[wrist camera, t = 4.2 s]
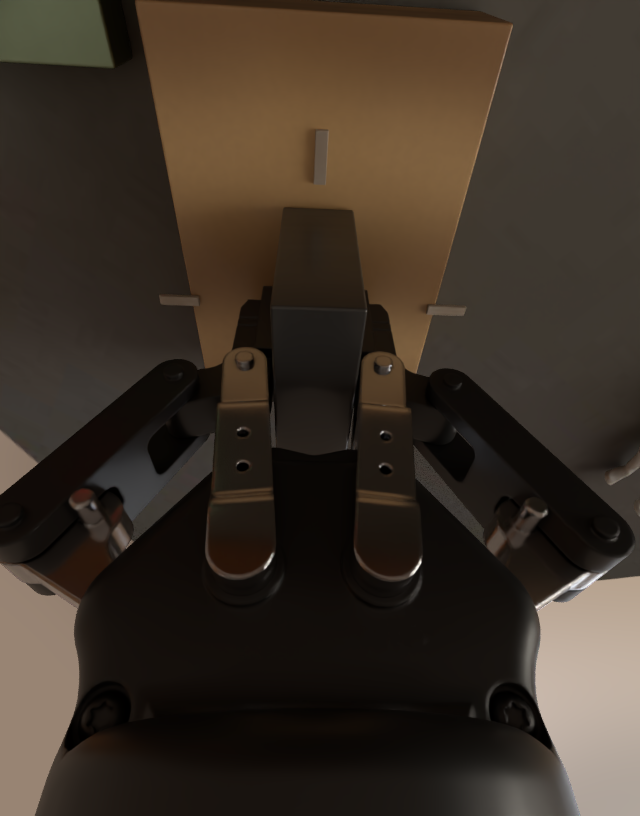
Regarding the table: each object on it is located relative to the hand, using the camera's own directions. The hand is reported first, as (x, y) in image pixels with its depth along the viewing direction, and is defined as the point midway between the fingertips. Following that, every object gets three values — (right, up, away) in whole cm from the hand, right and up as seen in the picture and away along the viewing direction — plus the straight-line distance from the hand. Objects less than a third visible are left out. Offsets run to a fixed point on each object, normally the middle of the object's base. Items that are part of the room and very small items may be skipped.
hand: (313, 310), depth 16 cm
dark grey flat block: (0, 0, 0) cm, 0 cm away
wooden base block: (0, +3, +1) cm, 4 cm away
